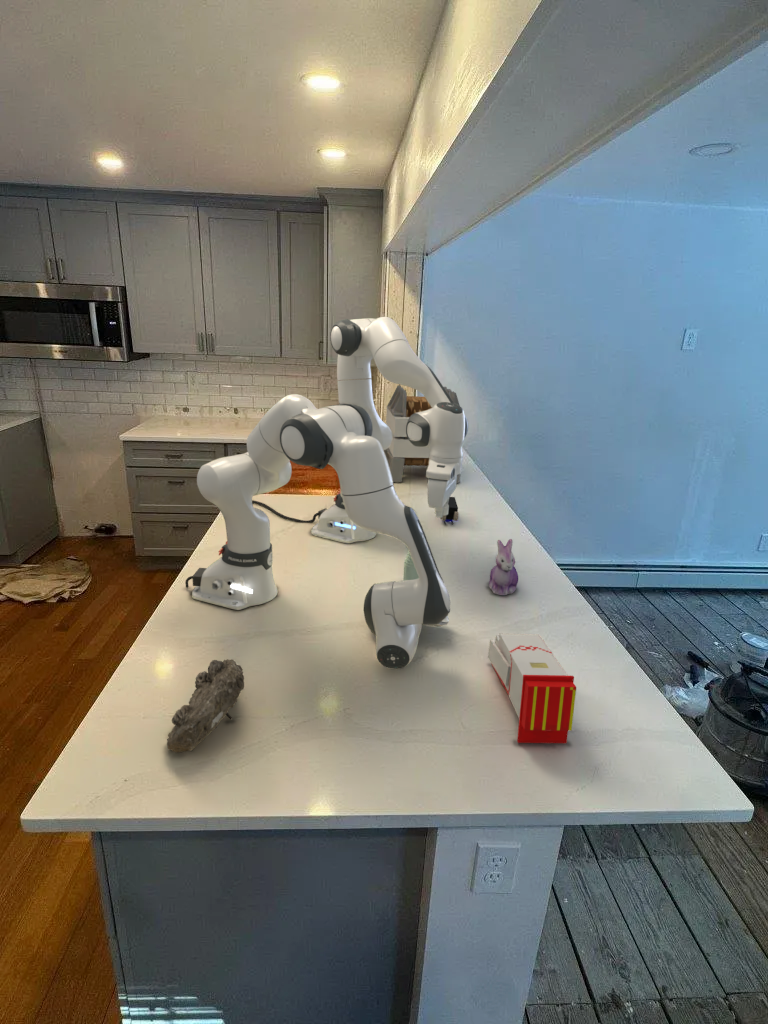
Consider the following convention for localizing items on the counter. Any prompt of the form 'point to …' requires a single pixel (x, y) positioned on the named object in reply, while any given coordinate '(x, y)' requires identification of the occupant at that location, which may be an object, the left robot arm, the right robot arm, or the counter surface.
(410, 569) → the bottle
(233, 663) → the fossil
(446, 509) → the cap
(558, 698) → the toy
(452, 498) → the figurine character
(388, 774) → the counter surface
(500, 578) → the figurine
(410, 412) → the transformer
